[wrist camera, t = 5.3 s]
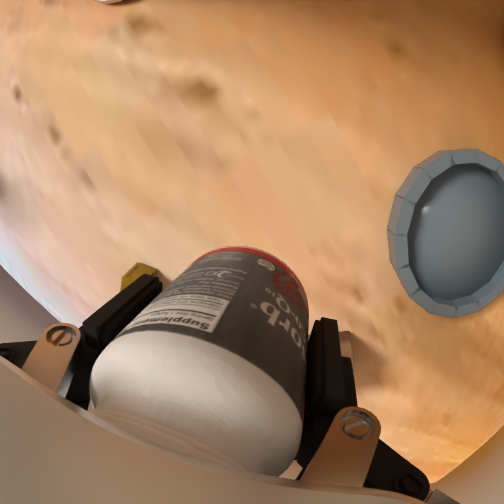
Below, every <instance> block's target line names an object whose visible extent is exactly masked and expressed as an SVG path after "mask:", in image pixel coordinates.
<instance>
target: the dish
mask: <svg viewBox="0 0 504 504" xmlns="http://www.w3.org/2000/svg"><path fill="white" fill-rule="evenodd" d="M396 195H397V196H396ZM396 195H395V198H394V202H393V207H392V211H391V215H390V219H389V223H388V226H387V228H388V229H387V233H388V244H389V256H390V262H391V264H392V266H393V268H394V270H395V272H396V274H397V276H398V278H399V280H400V282H401V284H402V286H403V288H404V289H405V291H406V292H407V294H408V296H409V297H410V298H411V299H412V300H414V301H415V302H416V303H417V304H419V305H420V306H421V307H422V308H424V309H425V310H426V311H427V312H429V313H430V314H435V315H440V316H446V317H451V318H456V317H460V316H463V315H467V314H470V313H474V312H477V311H479V310H481V309H482V308H483V307H485V306H486V305H487V304H489V303H490V302H491V301H493V300H494V299H495V298H497V297H498V296H499V295H500V294H501V293H502V291H503V290H504V165H503V163H502V162H501V161H500V160H498V159H496V158H494V157H492V156H490V155H488V154H486V153H484V152H482V151H480V150H478V149H459V150H446V151H438V152H436V153H435V154H433V155H432V156H430V157H429V158H427V159H425V160H424V161H422V162H421V163H419V164H418V165H416V166H415V167H414V168H413V169H412V170H411V172H410V173H409V175H408V177H407V178H406V180H405V181H404V183H403V184H402V186H401V187H400V189H399V190H398V191H397V193H396Z"/></svg>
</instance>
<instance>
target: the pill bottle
mask: <svg viewBox="0 0 504 504" xmlns="http://www.w3.org/2000/svg"><path fill="white" fill-rule="evenodd" d="M308 327H309V309H308V301H307V297H306V293H305V291H304V288H303V286H302V284H301V282H300V280H299V279H298V277H297V276H296V275H295V273H294V272H293V271H292V270H291V269H290V268H289V267H288V266H287V265H286V264H285V263H284V262H283V261H281V260H280V259H278V258H277V257H275V256H273V255H271V254H270V253H267V252H265V251H263V250H260V249H257V248H252V247H246V246H227V247H222V248H218V249H215V250H212V251H210V252H208V253H206V254H204V255H202V256H201V257H199V258H198V259H197V260H195V261H194V262H193V263H192V264H191V265H189V267H188V268H187V269H185V270H184V271H183V272H182V273H181V274H180V275H179V276H178V277H177V278H176V279H175V280H174V281H173V282H172V283H171V284H170V285H169V286H168V287H167V288H165V289H164V290H163V291H162V292H161V293H160V294H159V295H158V296H157V297H156V298H155V299H154V300H153V301H152V302H151V303H150V304H149V305H148V306H147V307H146V308H145V309H144V310H143V311H142V312H141V313H140V314H139V315H138V316H137V317H136V318H135V319H134V320H133V321H132V322H131V323H130V324H129V325H127V326H126V327H125V328H124V329H123V330H122V331H121V332H120V333H119V334H118V335H117V336H116V337H115V338H114V339H113V340H112V341H111V342H110V343H109V345H108V346H107V347H106V348H105V349H104V350H103V352H102V353H101V354H100V355H99V357H98V358H97V360H96V362H95V364H94V366H93V369H92V372H91V377H90V383H89V391H90V398H91V403H92V407H93V410H92V411H88V412H90V413H92V414H94V415H95V416H97V417H99V418H101V419H103V420H105V421H107V422H109V423H111V424H113V425H115V426H117V427H120V428H122V429H124V430H126V431H128V432H130V433H133V434H135V435H137V436H140V437H142V438H144V439H147V440H149V441H152V442H154V443H157V444H159V445H162V446H165V447H167V448H170V449H173V450H175V451H178V452H181V453H184V454H187V455H190V456H193V457H196V458H200V459H203V460H206V461H210V462H213V463H217V464H220V465H224V466H228V467H232V468H236V469H240V470H244V471H249V472H253V473H258V474H263V475H268V476H274V477H279V476H280V475H281V474H282V473H283V472H284V471H286V470H287V469H288V467H289V466H290V465H291V463H292V462H293V460H294V458H295V457H296V454H297V452H298V449H299V446H300V441H301V436H302V430H303V421H304V406H305V388H306V374H307V350H308Z"/></svg>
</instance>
